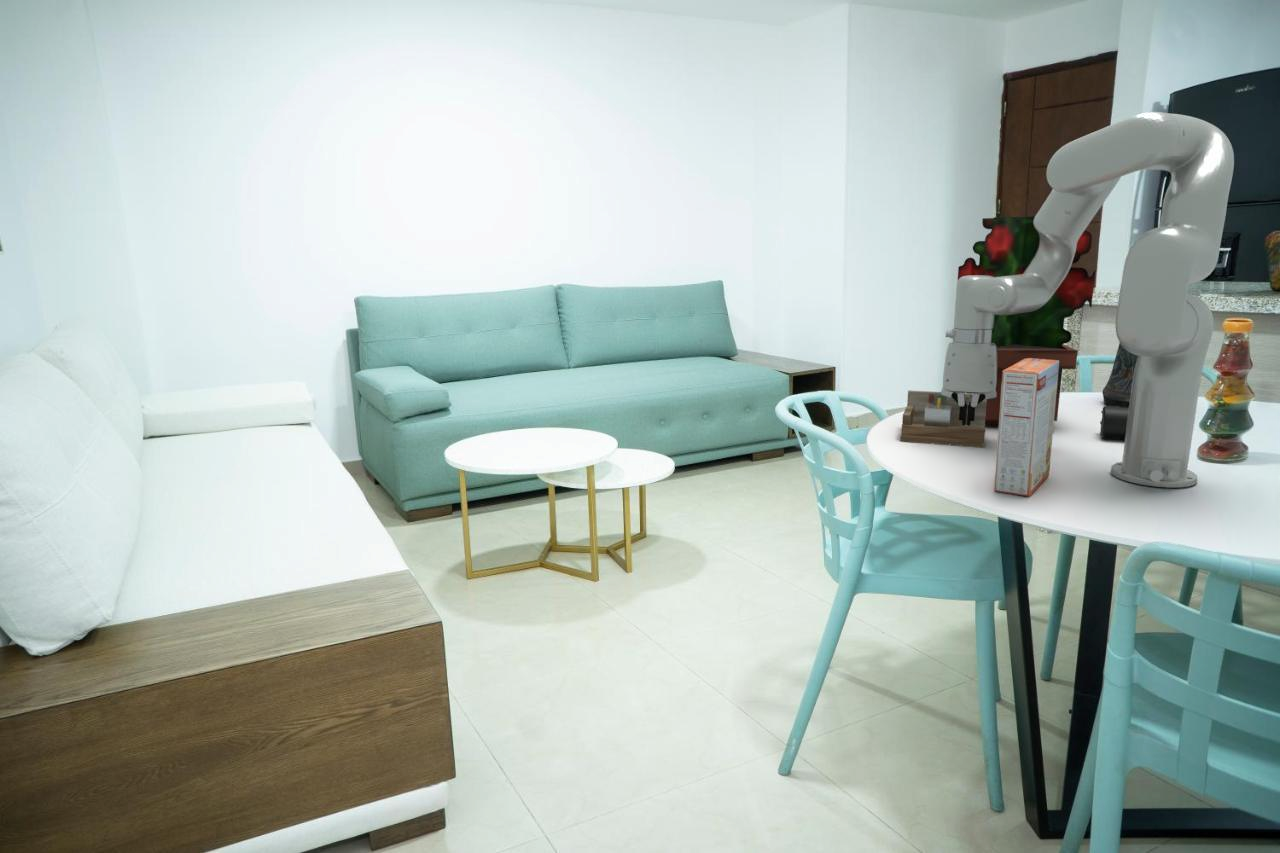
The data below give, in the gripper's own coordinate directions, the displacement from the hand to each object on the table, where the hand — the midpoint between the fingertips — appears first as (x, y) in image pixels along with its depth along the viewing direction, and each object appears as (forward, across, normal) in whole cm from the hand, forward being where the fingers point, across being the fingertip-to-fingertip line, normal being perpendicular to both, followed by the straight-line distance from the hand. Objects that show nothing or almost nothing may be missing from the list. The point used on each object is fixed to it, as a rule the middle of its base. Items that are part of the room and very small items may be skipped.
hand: (966, 423), depth 164 cm
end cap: (+3, +31, +9) cm, 32 cm away
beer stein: (+3, +39, +43) cm, 58 cm away
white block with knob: (+2, -6, 0) cm, 6 cm away
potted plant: (+3, +9, +19) cm, 21 cm away
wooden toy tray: (+3, -4, 0) cm, 5 cm away
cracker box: (+3, +10, -30) cm, 32 cm away
